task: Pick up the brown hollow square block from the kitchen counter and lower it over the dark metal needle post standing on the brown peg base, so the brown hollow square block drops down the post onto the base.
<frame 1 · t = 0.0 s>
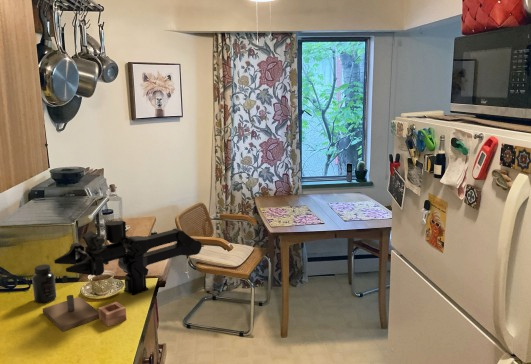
hand: (60, 265, 141), 17 cm above the kitchen counter, tool horizontal, fingers open, 9 cm apart
brown hollow square block: (112, 319, 141), on the kitchen counter
supplement bottle: (45, 300, 154), on the kitchen counter
brown peg base: (71, 315, 143), on the kitchen counter
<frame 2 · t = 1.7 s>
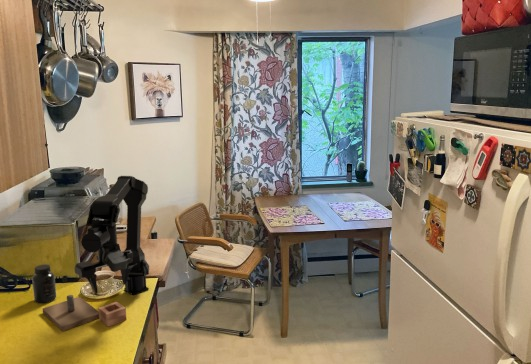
hand: (110, 288, 139), 10 cm above the kitchen counter, tool pointing down, fingers open, 9 cm apart
nothing on the kitchen counter moved.
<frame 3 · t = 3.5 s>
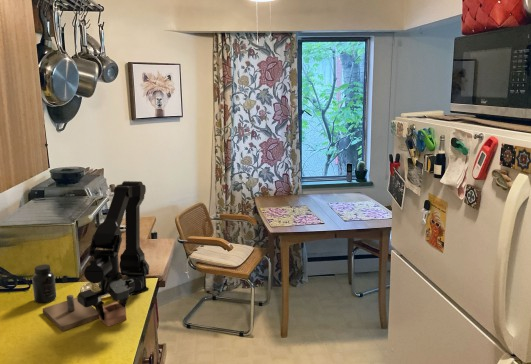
hand: (112, 316, 140), 1 cm above the kitchen counter, tool pointing down, fingers closed on brown hollow square block, 6 cm apart
brown hollow square block: (112, 319, 141), on the kitchen counter, touching gripper
everything else where it was.
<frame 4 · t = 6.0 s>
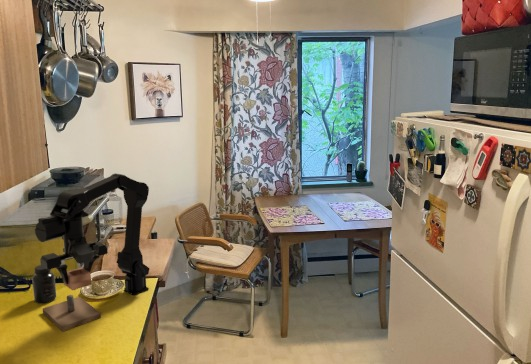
hand: (77, 280, 140), 12 cm above the kitchen counter, tool pointing down, fingers closed on brown hollow square block, 6 cm apart
brown hollow square block: (77, 284, 140), point 11 cm above the kitchen counter, touching gripper
everything else where it was.
when the fingers open (6 cm above the kitchen counter, at t = 8.8 s): brown hollow square block drops 3 cm, resting on brown peg base.
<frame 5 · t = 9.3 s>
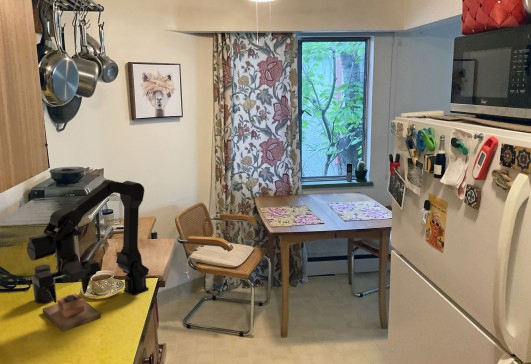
hand: (70, 297, 142), 6 cm above the kitchen counter, tool pointing down, fingers open, 9 cm apart
brown hollow square block: (71, 310, 143), point 1 cm above the kitchen counter, touching brown peg base
everything else where it was.
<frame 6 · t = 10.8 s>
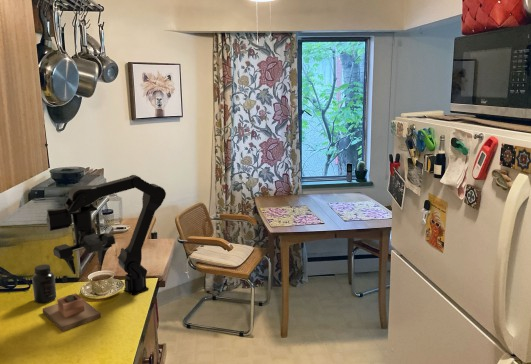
hand: (87, 269, 150), 12 cm above the kitchen counter, tool pointing down, fingers open, 9 cm apart
nothing on the kitchen counter moved.
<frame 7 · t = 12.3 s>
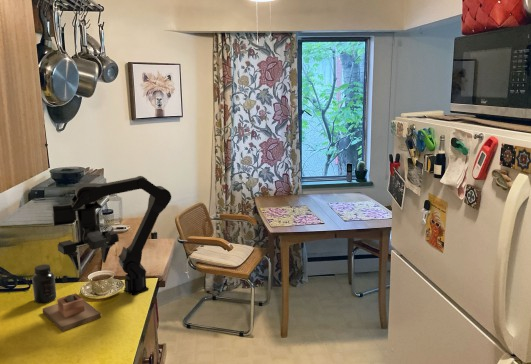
hand: (91, 266, 152), 12 cm above the kitchen counter, tool pointing down, fingers open, 9 cm apart
nothing on the kitchen counter moved.
at the end: brown hollow square block 0.1 cm off-centre on the brown peg base, point 1.5 cm above the brown peg base's base; the gripper is holding nothing; brown hollow square block tilted 0° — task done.
